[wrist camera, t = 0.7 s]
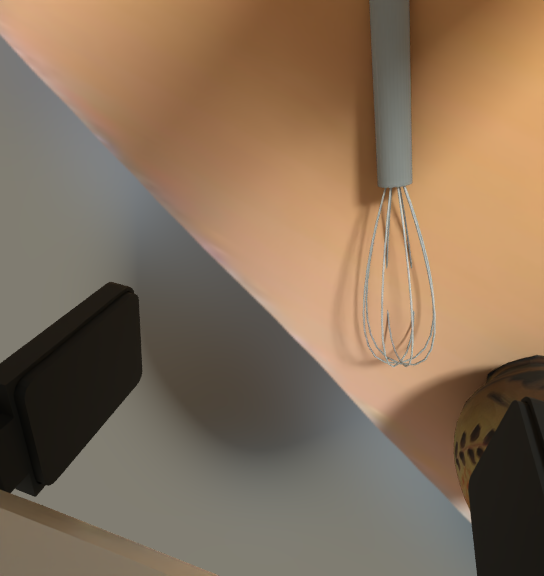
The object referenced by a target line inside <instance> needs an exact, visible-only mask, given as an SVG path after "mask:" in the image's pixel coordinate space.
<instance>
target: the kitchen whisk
mask: <svg viewBox="0 0 544 576" xmlns="http://www.w3.org/2000/svg"><path fill="white" fill-rule="evenodd" d="M369 4H370V26H371V48H372V70H373V91H374V113H375V135H376V157H377V179H378V187H383V188H385V189H384V193H383V196H382V200H381V204H380V208H379V212H378V216H377V220H376V224H375V229H374V233H373V238H372V243H371V247H370V253H369V259H368V264H367V270H366V278H365V286H364V298H363V323H364V333H365V337H366V341H367V345H368V347H369V349H370V350H371V352H372V353H373V355H374V357H376V358H377V359H379V360H381V361H383V362H384V363H388V365H390V366H392V367H395V366H396V365H398V364H403V365H404V366H405V367H407V366H409V365H417V364H419V363H421V362H423V361H425V360H426V359H427V357H428V355H429V354H430V352H431V350H432V348H433V342H434V337H435V306H434V294H433V285H432V278H431V273H430V268H429V262H428V258H427V254H426V250H425V246H424V242H423V238H422V235H421V231H420V228H419V225H418V221H417V218H416V215H415V212H414V209H413V206H412V203H411V200H410V197H409V195H408V192H407V189H406V187H405V186H406V185H409V184H412V137H411V75H410V13H409V0H369ZM401 186H403V188H404V191H405V194H406V197H407V200H408V203H409V206H410V209H411V212H412V216H413V219H414V222H415V225H416V229H417V232H418V236H419V240H420V243H421V247H422V251H423V255H424V259H425V263H426V268H427V272H428V278H429V283H430V288H431V295H432V303H433V321H432V327H431V333H430V336H429V338H428V341H427V343H426V345H425V347H424V348H423V349H422V350H421V351H420V352H419V353H418V354H417V355H416V356H415V357H413V358H412V356H413V327H414V311H412V296H411V284H410V273H409V264H408V254H407V245H406V237H405V228H404V221H405V227H406V234H407V241H408V248H409V256H410V265H411V268H412V260H411V252H410V244H409V236H408V230H407V223H406V217H405V211H404V205H403V199H402V193H401V188H400V187H401ZM392 187H397V189H398V196H399V203H400V211H401V218H402V226H403V234H404V243H405V251H406V261H407V270H408V280H409V292H410V305H411V322H412V330H411V336H410V341H409V344H408V347H407V350H406V353H405V354H404V356H403V357H402V359H401V360H400V358H399V356H398V354H397V352H396V350H395V347H394V343H393V340H392V335H391V330H390V323H389V313H388V310H387V316H388V326H389V332H390V337H391V341H392V345H393V348H394V351H395V353H396V355H397V357H398V359H399V361H400V362H397V361H395V360H393V359H391V358H389V357H387V356H386V352H385V346H384V335H383V288H384V268H385V253H386V240H387V255H386V268H387V266H388V243H389V225H390V210H391V197H392ZM386 188H390V191H389V201H388V210H387V221H386V232H385V244H384V258H383V273H382V297H381V326H382V343H383V349H384V353H383V352H382V351H381V350H380V349H379V348H378V347H377V345H376V343H375V341H374V338H373V336H372V334H371V330H370V325H369V321H368V308H367V293H368V278H369V269H370V261H371V255H372V249H373V244H374V238H375V234H376V229H377V224H378V220H379V216H380V211H381V207H382V203H383V200H384V196H385V192H386ZM400 197H401V198H400ZM401 203H402V205H401ZM402 209H403V213H402ZM403 214H404V221H403ZM387 228H388V233H387ZM365 291H366V315H367V323H368V327H369V332H370V335H371V337H372V340H373V342H374V344H375V346H376V348H377V349H378V350H379V351H380V352H381V353H382V354H383V355H384V356H385V358H386V361H387V362H385V361H384V360H382V359H380V358H378V357H377V356H375V354H374V352H373V351H372V349H371V348H370V346H369V343H368V339H367V335H366V331H365V316H364V308H365ZM433 324H434V334H433V339H432V345H431V349H430V351H429V352H428V354H427V356H426V357H425V359H423V360H421V361H420V362H418V363H416V364H410V363H411V360H412V359H414V358H416V357H417V356H418V355H419V354H420V353H421V352H422V351H423V350H424V349H425V348H426V346H427V344H428V342H429V340H430V338H431V336H432V330H433ZM411 339H412V347H411V357H410V359H407V360H405V361H402V360H403V358H404V357H405V355H406V354H407V352H408V349H409V346H410V343H411ZM387 358H388V359H390V360H392V361H394V362H388V359H387ZM409 360H410V361H409ZM406 361H409V364H408V363H403V362H406ZM389 363H397V364H395V365H394V366H393V365H391V364H389Z"/></svg>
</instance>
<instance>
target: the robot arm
mask: <svg viewBox="0 0 544 576" xmlns="http://www.w3.org/2000/svg"><path fill="white" fill-rule="evenodd" d="M141 375H142V357H141V337H140V317H139V299H138V296H137V295H136V294H134V291H133V289H132V288H131V287H128V286H124V285H121V284H117V283H114V282H109V283H107V284H105V285H104V286H103V287H101V288H100V289H99V290H98V291H96V292H95V293H94V294H92V295H91V296H90V297H88V298H87V299H86V300H84V301H83V302H82V303H80V304H79V305H78V306H76V307H75V308H74V309H72V310H71V311H70V312H68V313H67V314H66V315H64V316H63V317H62V318H60V319H59V320H58V321H56V322H55V323H54V324H52V325H51V326H50V327H48V328H47V329H46V330H44V331H43V332H42V333H40V334H39V335H38V336H36V337H35V338H34V339H32V340H31V341H30V342H28V343H27V344H26V345H24V346H23V347H22V348H20V349H19V350H18V351H16V352H15V353H14V354H12V355H11V356H10V357H8V358H7V359H6V360H4V361H3V362H2V363H0V576H219V575H216V574H213V573H211V572H209V571H206V570H204V569H201V568H199V567H196V566H194V565H191V564H188V563H186V562H184V561H181V560H179V559H176V558H174V557H171V556H169V555H166V554H164V553H161V552H159V551H156V550H153V549H151V548H149V547H146V546H144V545H141V544H139V543H136V542H134V541H131V540H129V539H126V538H124V537H121V536H119V535H116V534H113V533H111V532H108V531H106V530H103V529H101V528H98V527H96V526H93V525H91V524H88V523H86V522H83V521H80V520H78V519H75V518H73V517H70V516H68V515H65V514H63V513H60V512H58V511H55V510H53V509H50V508H48V507H45V506H43V505H40V504H37V503H35V502H32V501H29V500H27V499H24V498H21V497H18V496H16V495H13V494H10V493H11V492H12V491H13V490H14V489H15V488H16V489H17V490H19V491H22V492H25V493H27V494H29V495H32V496H37V495H38V493H39V492H40V491H41V490H42V489H43V488H44V486H45V485H51V484H53V483H54V482H55V481H56V480H57V479H58V477H60V475H61V474H62V473H63V472H64V471H65V469H66V468H67V467H68V466H69V465H70V464H71V462H72V461H73V460H74V459H75V457H76V456H77V455H78V454H79V453H80V452H81V450H82V449H83V448H84V447H85V446H86V444H87V443H88V442H89V441H90V440H91V439H92V437H93V436H94V435H95V434H96V433H97V432H98V430H99V429H100V428H101V427H102V426H103V424H104V423H105V422H106V421H107V419H108V418H109V417H110V416H111V415H112V414H113V413H114V411H115V410H116V409H117V408H118V407H119V405H120V404H121V403H122V402H123V401H124V400H125V398H126V397H127V396H128V395H129V393H130V392H131V391H132V390H133V389H134V388H135V386H136V385H137V384H138V383H139V381H140V378H141ZM468 494H469V503H470V512H471V522H472V531H473V540H474V550H475V559H476V568H477V576H544V401H542V400H538V399H535V398H531V397H524V398H523V399H522V400H521V401H517V400H514V401H513V402H512V403H511V404H510V406H509V408H508V410H507V411H506V413H505V415H504V417H503V418H502V420H501V422H500V424H499V426H498V427H497V429H496V431H495V433H494V435H493V436H492V438H491V440H490V442H489V443H488V445H487V447H486V449H485V451H484V452H483V454H482V456H481V458H480V460H479V461H478V463H477V465H476V467H475V469H474V470H473V472H472V474H471V476H470V479H469V484H468Z"/></svg>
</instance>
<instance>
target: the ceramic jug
mask: <svg viewBox="0 0 544 576" xmlns="http://www.w3.org/2000/svg"><path fill="white" fill-rule="evenodd" d="M524 397H531V398H535V399H538V400H542V401H544V356H540V355H536V356H533V357H529V358H524V359H521V360H518V361H514V362H509V363H507V364H505V365H503V366H501V367H499V368H497V369H496V370H494V371H492V372H491V373H489V374H488V377H487V383H486V384H485V385H484V386H482V387H481V388H480V389H479V390H477V391H476V392H475V393H474V394H473V395H472V396H471V397H470V398H469V400H468V401H467V402H466V403H465V405H464V408H463V410H462V412H461V415H460V417H459V419H458V421H457V426H456V430H455V435H454V459H455V466H456V471H457V476H458V479H459V482H460V486H461V489H462V492H463V495H464V498H465V500H466V502H467V505H468V507H469V509H470V503H469V494H468V484H469V479H470V476H471V474H472V472H473V470H474V469H475V467H476V465H477V463H478V461H479V460H480V458H481V456H482V454H483V452H484V451H485V449H486V447H487V445H488V443H489V442H490V440H491V438H492V436H493V435H494V433H495V431H496V429H497V427H498V426H499V424H500V422H501V420H502V418H503V417H504V415H505V413H506V411H507V410H508V408H509V406H510V404H511V403H512V402H513V401H514V400H517V401H521V400H522V399H523V398H524Z"/></svg>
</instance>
